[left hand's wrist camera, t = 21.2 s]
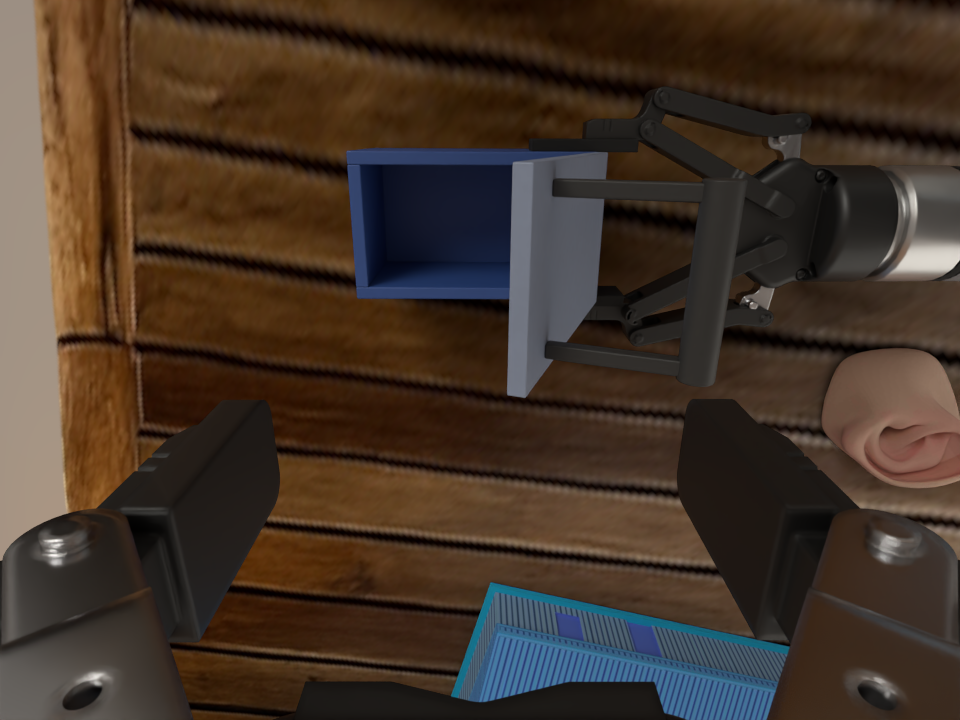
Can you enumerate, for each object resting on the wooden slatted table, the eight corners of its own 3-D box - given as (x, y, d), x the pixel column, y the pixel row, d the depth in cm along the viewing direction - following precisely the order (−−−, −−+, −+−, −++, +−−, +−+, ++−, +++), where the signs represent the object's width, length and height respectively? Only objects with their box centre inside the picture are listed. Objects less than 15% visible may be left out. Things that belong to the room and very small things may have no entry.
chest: (379, 268, 47) (357, 298, 38) (372, 148, 44) (346, 150, 35) (568, 269, 47) (588, 299, 38) (575, 149, 44) (599, 152, 35)
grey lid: (506, 395, 24) (712, 428, 21) (512, 162, 21) (755, 166, 18) (583, 300, 38) (714, 313, 35) (594, 152, 35) (738, 154, 32)
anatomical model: (836, 386, 46) (988, 337, 45) (810, 367, 50) (949, 322, 48) (859, 517, 50) (998, 476, 49) (833, 491, 54) (961, 452, 53)
